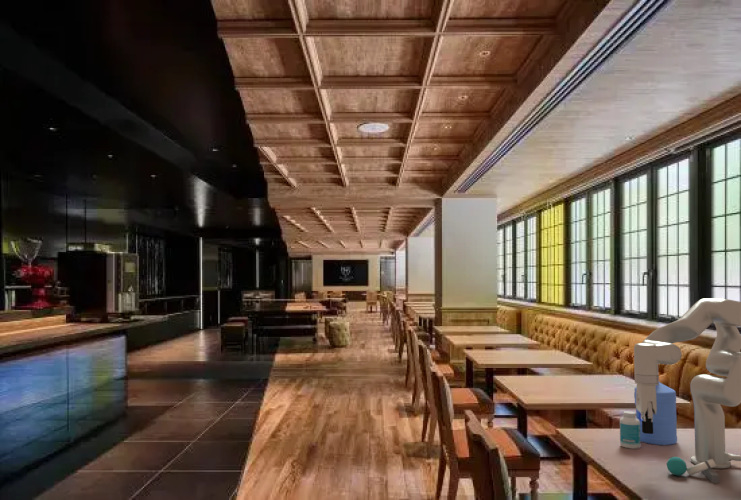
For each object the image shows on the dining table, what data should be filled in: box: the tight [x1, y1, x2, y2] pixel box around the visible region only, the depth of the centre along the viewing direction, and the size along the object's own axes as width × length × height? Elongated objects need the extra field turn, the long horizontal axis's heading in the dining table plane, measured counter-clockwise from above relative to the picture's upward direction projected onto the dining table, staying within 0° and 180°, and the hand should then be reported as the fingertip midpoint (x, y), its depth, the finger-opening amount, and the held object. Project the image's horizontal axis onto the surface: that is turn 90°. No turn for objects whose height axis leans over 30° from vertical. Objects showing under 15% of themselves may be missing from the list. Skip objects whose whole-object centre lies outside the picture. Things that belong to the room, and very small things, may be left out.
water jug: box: [633, 371, 678, 446], centre depth 243 cm, size 16×16×28 cm
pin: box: [686, 459, 716, 477], centre depth 198 cm, size 2×2×9 cm
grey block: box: [700, 468, 720, 484], centre depth 198 cm, size 2×12×2 cm, turn 166°
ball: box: [666, 456, 688, 476], centre depth 200 cm, size 6×6×6 cm
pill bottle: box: [619, 410, 641, 450], centre depth 233 cm, size 8×7×14 cm
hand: (647, 432), depth 203 cm, fingers closed
